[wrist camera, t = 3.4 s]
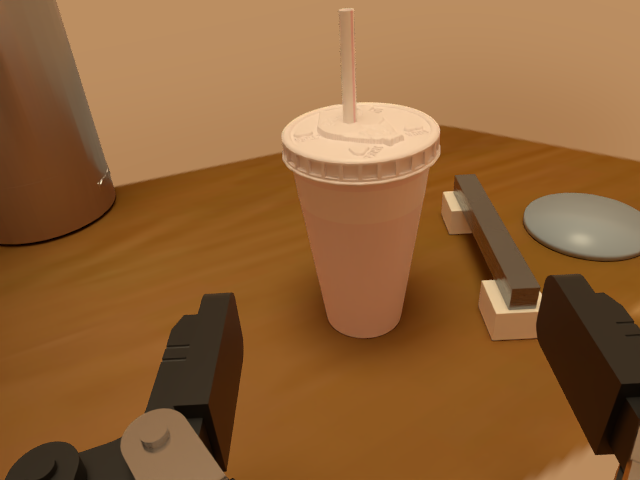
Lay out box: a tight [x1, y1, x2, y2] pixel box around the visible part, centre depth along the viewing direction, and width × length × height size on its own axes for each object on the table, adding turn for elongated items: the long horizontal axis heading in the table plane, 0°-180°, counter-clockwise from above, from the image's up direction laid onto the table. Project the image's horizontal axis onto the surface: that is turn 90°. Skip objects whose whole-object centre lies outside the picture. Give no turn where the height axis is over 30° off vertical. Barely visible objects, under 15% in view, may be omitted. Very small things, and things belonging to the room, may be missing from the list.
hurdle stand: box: [441, 191, 542, 340], centre depth 28 cm, size 11×2×2 cm, turn 1°
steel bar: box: [453, 174, 540, 310], centre depth 28 cm, size 11×1×1 cm, turn 1°
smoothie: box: [282, 8, 440, 338], centre depth 22 cm, size 6×6×14 cm
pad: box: [523, 193, 640, 261], centre depth 31 cm, size 7×7×1 cm
